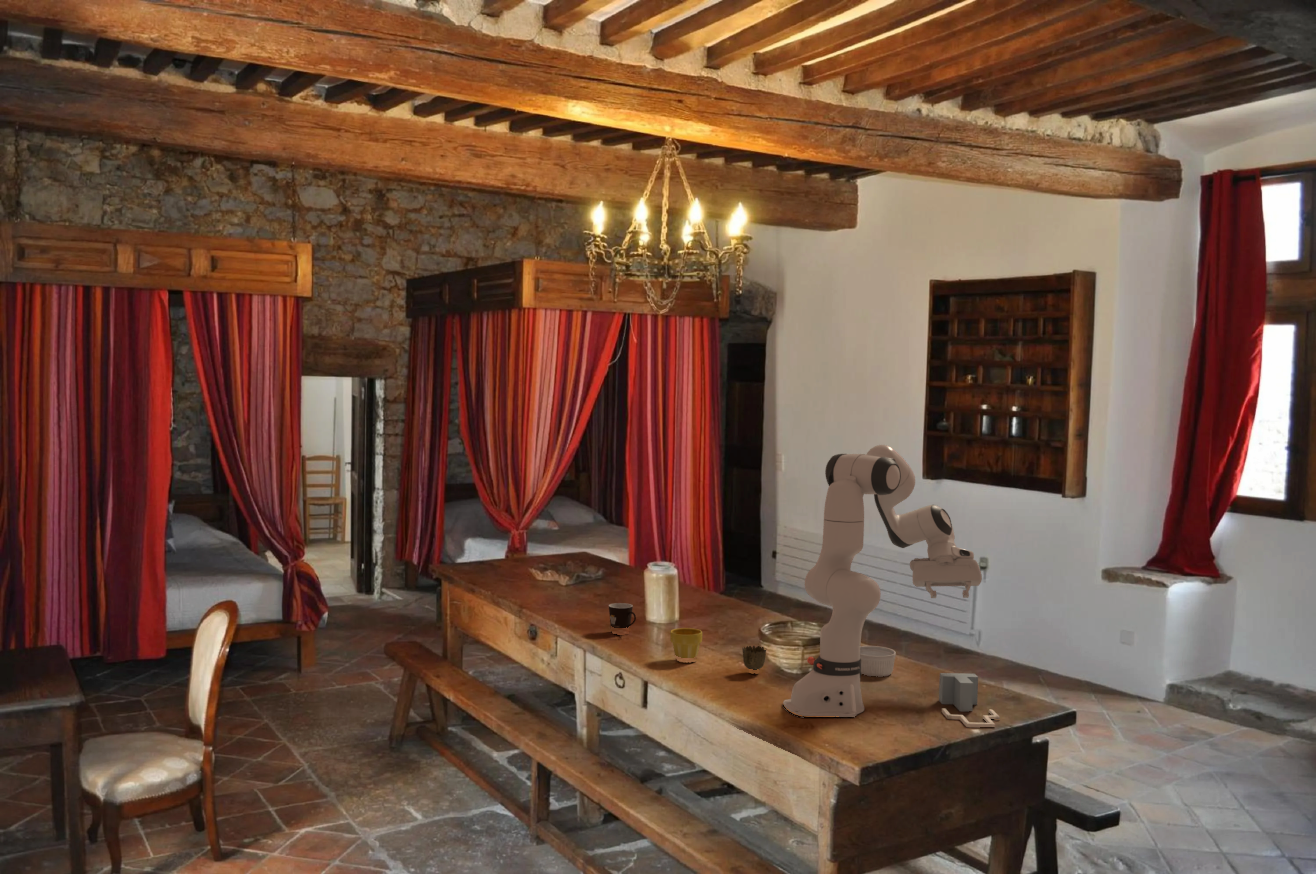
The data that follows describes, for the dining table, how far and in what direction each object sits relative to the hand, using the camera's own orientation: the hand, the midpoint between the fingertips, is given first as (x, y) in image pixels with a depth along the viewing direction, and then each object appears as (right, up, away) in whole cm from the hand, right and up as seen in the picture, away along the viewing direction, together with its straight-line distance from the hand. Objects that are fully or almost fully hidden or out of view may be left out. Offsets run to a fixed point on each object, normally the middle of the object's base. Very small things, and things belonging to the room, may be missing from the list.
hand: (950, 597), depth 320 cm
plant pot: (-78, -25, +28) cm, 86 cm away
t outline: (-1, -29, -28) cm, 40 cm away
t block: (-1, -29, -16) cm, 33 cm away
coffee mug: (-100, -23, +62) cm, 120 cm away
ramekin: (-19, -27, +18) cm, 38 cm away
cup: (-57, -26, +14) cm, 64 cm away
